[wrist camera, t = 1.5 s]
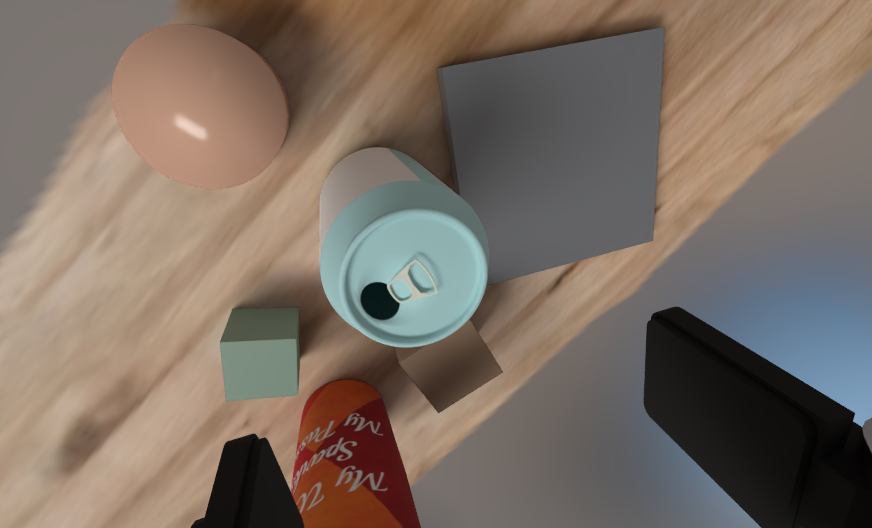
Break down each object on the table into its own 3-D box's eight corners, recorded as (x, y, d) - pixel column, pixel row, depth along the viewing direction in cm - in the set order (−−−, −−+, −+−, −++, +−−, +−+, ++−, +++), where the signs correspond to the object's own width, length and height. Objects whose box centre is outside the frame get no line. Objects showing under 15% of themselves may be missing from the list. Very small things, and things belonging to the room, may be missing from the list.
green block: (232, 308, 27) (219, 342, 24) (298, 306, 28) (296, 338, 25) (237, 361, 29) (226, 401, 25) (300, 357, 30) (297, 395, 26)
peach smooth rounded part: (120, 46, 21) (79, 38, 17) (266, 23, 22) (256, 12, 19) (179, 185, 24) (154, 203, 20) (305, 159, 25) (303, 172, 21)
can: (408, 269, 29) (460, 377, 18) (304, 236, 27) (294, 341, 16) (449, 171, 27) (534, 228, 17) (342, 126, 25) (360, 160, 14)
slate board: (436, 68, 25) (442, 67, 24) (650, 29, 27) (664, 26, 26) (468, 281, 31) (473, 289, 30) (642, 235, 33) (653, 240, 32)
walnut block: (387, 321, 30) (398, 363, 26) (447, 283, 30) (469, 318, 26) (422, 367, 33) (438, 413, 28) (477, 332, 33) (503, 372, 28)
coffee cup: (356, 345, 30) (386, 552, 17) (418, 413, 34) (482, 627, 21) (259, 411, 31) (211, 669, 17) (330, 472, 34) (338, 724, 21)
